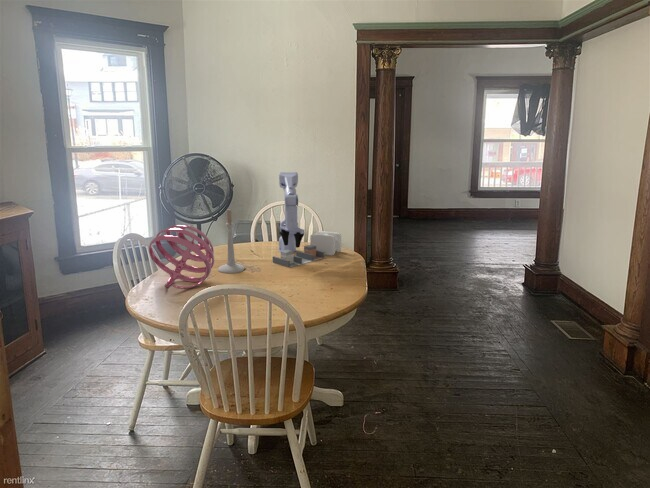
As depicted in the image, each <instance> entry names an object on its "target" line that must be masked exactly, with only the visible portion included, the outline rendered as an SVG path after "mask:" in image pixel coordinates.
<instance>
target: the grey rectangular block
mask: <svg viewBox="0 0 650 488" xmlns="http://www.w3.org/2000/svg"><path fill="white" fill-rule="evenodd" d="M294 256H295V255H294V252H293V251H291V250H285V251H281V252H280V258H282V259H285V260H289V261H290V264H291V263H294Z"/></svg>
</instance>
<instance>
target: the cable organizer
mask: <svg viewBox="0 0 650 488" xmlns="http://www.w3.org/2000/svg"><path fill="white" fill-rule="evenodd" d="M309 241H310V242H309V243H310V244H309V245H315V246H316V250H318V251H322V252H324V256H334V255H335V253H341V251H342V234H341V233H339V232H336V231H335V232H334V231H327V230H326V231H324V230H319V231H316V233H312V234H311V235H310V240H309Z"/></svg>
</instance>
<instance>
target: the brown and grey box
mask: <svg viewBox="0 0 650 488" xmlns="http://www.w3.org/2000/svg"><path fill="white" fill-rule="evenodd" d="M303 252H304V253H308V254H312V255H313V258H314V257H316V246H315V245H310V244H308V245H304V246H303Z"/></svg>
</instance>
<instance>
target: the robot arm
mask: <svg viewBox="0 0 650 488" xmlns="http://www.w3.org/2000/svg"><path fill="white" fill-rule="evenodd" d="M278 180H279V181H278V185H279V187H280V188H281V189H283V192H284V193H283V194H284V218H283V219H282V220H281V221H280V225H279V228H278V229H279V235H280V237H279V238H278V250H277V252H278V253H281V251H285V250H291V251H293V253H294V252H295V253H296V251H297V249H298V248H300V247H301V242H302V240H303V237H304V236H305V229H303V228H299V223H298V207H299V195H298V194H297V189H296V188H297V186H298V183H299V173H298V172H297V171H292V172H291V171H287V172H286V171H285V172H282V171H280V172H279V173H278Z"/></svg>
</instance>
